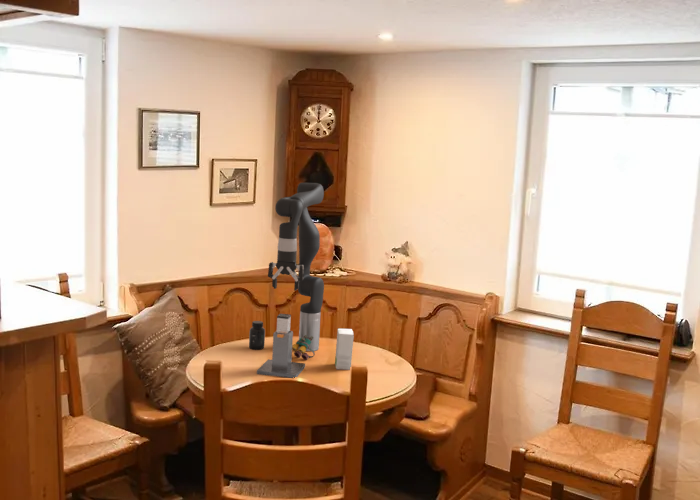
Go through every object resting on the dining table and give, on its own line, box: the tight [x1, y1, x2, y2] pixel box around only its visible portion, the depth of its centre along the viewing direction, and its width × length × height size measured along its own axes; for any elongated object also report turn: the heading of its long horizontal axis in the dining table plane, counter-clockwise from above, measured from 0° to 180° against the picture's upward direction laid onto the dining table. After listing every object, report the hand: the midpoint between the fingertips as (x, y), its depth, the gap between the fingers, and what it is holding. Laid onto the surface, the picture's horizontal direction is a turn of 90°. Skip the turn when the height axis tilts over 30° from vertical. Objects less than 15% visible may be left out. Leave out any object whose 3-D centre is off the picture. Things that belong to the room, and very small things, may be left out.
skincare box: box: [334, 328, 355, 371], centre depth 299 cm, size 8×7×16 cm
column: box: [276, 313, 292, 334], centre depth 288 cm, size 5×5×21 cm
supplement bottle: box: [248, 320, 266, 351], centre depth 318 cm, size 7×7×12 cm
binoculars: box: [292, 335, 316, 361], centre depth 308 cm, size 9×9×10 cm
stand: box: [256, 330, 306, 379], centre depth 289 cm, size 16×16×16 cm
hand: (285, 289), depth 285 cm, fingers open, 8 cm apart
